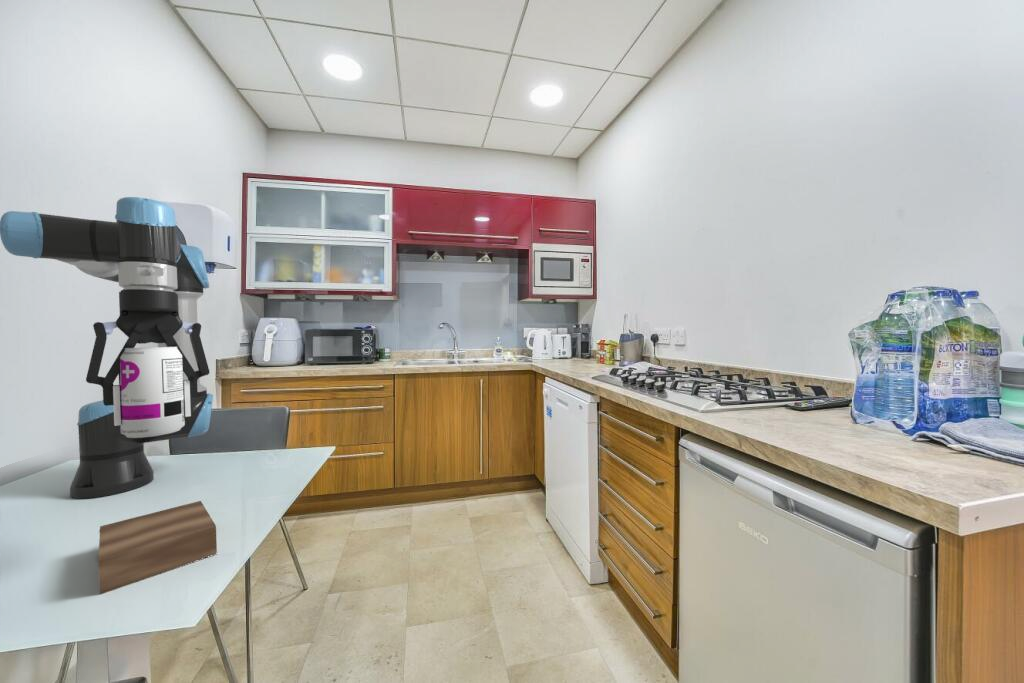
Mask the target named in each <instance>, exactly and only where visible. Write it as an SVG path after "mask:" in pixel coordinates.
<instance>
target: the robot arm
mask: <svg viewBox="0 0 1024 683" xmlns="http://www.w3.org/2000/svg"><path fill="white" fill-rule="evenodd" d="M115 211H116V213H115V216H114V219H115V221H105V220H99V219H98V220H97V219H89V218H88V219H87V218H79V217H70V216H62V215H54V214H46V213H38V212H36V211H31V212H29V211H28V212H27V211H15V210H9V211H6V212H4V213H3V214H2V215H1V217H0V240H1V244H2V246H3V247H4V249H5V250H6V251H7V252H8V253H9V254H11V255H13V256H16V257H27V258H33V259H51V260H56V261H59V262H62V263H66V264H69V265H72V266H75V267H76V268H77V269H78V270H79V271H81V272H82V273H84V274H86V275H89V276H91V277H95V278H98V279H102V280H106V281H109V282H115V283H118V286H119V287H120V288H122V289H121V290H120V291H119V292H118V300H119V304H118V305H119V316H118V318H117V319H116V321H115V320H114V321H107V322H99V321H97V322H95V323H93V325H92V326H93V330H94V333H95V334H94V335H95V340H94V344H93V348H92V353H91V357H90V361H89V366H88V369H87V373H86V378H85V382H86V383H88V384H94V385H99V386H101V387H102V388H101V389H102V400H98V401H93V402H90V403H87V404H85V405H83V406H81V407H80V409H79V410H78V422H77V423H76V426H77V427H78V445H79V446H78V448H79V450H78V451H79V465H78V467H77V470H76V472H75V474H74V477H73V480H72V482H71V484H70V487H69V490H70V492H69V493H70V494H69V495H70V498H72V497H73V499H93V498H102V497H105V496H110V495H111V496H112V495H116V494H121V493H125V492H129V491H132V490H135V489H138V488H140V487H143V486H146V485H148V484H150V483H152V481H154V478H155V476H154V475H155V474H154V470H153V468H152V465H151V463H150V461H149V460H148V458H147V456H146V454H145V449H144V448H145V446H144V444H145V443H152V442H153V443H154V442H161V441H162V442H163V441H166V440H175V439H185V438H186V439H188V438H190V437H197V436H202V435H204V434H206V433H207V432H208V431H209V429H210V423H211V422H210V421H211V415H212V408H213V400H214V394H212V393H208V390H207V387H206V386H205V385H203V384H202V383H201V382H200V381H201V380H200V379H201V378H202V377H204V376H208V375H210V368H209V364H208V360H207V357H206V354H205V350H204V346H203V343H202V339H201V331H202V330H201V329H202V325H201V324H200V323H199V322H198V299H200V298H201V297H202V296H203V295H204V289H205V290H206V289H209V288H210V283H209V278H208V272H207V268H206V267H207V266H206V262H205V257H204V253H203V250H202V249H200V247H197V246H193V245H187V244H182V243H180V242H179V240H178V237H177V228H176V226H177V224H178V223H177V221H176V214H175V209H174V207H172V206H171V205H169V204H168V203H165V202H163V201H160V200H155V199H152V198H145V197H140V196H139V197H138V196H127V197H126V196H125V197H121V198H119V199H118V200H117V202H116V210H115ZM116 328H118V329H119V330H120V331H121V332H122V333H123V334H124V335H125V336H126V337H127V340H126V342H125V343H124V345H123V346H122V348H121V350H120V352H119V353H118V355H117V357H116V358H115V360H114V362H113V363H112V365H111V366H110V368H109V370H108V371H107V373H106V375H105V377H104V376H99V373H100V369H101V365H102V362H103V361H102V360H103V356H104V352H105V347H106V344H107V339H108V336H110V335H112V334H113V332H114V329H116ZM149 343H153V344H157V347H177V349H178V350H179V352H180V353H181V354H182V366H183V386H184V415H185V425H184V426H183V427H182V428H181V429H180V430H179V431H177V432H173V433H169V434H164V435H159V436H152V437H143V438H128V437H126V435H124V434H121V426H120V425H121V413H120V386H119V384H114V382H115V381H116V379H117V377H119V372H120V357H121V355H122V354H123V352H124V351H125V348H136V346H137V344H141V345H142V344H143V345H144V344H149Z"/></svg>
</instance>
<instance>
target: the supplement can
mask: <svg viewBox="0 0 1024 683" xmlns="http://www.w3.org/2000/svg"><path fill="white" fill-rule="evenodd" d="M118 385H119V386H120V413H121V425H120V426H121V434H124V435H126V437H128V438H143V437H152V436H159V435H164V434H169V433H173V432H177V431H179V430H180V429H181V428H182V427H183V426H184V425H185V415H184V386H183V366H182V354H181V353H180V352H179V350H178V349H177V347H158V346H157V347H156V346H155V347H152V346H151V347H134V348H125V351H124V352H123V354H122V355H121V357H120V372H119V374H118Z"/></svg>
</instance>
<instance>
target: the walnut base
mask: <svg viewBox="0 0 1024 683" xmlns="http://www.w3.org/2000/svg"><path fill="white" fill-rule="evenodd" d="M217 549H218V548H217V525H216V523H215V522H214V520H213V518H212V517H211V515H210V513H209V512H208V510H207V508H206V507H205V506H204V504H203V502H202V500H198V501H194V502H190V503H186V504H182V505H179V506H175V507H171V508H167V509H162V510H158V511H155V512H152V513H148V514H144V515H140V516H135V517H132V518H127V519H123V520H121V521H115V522H112V523H107V524H103V525H100V526H99V543H98V581H99V582H98V584H99V595H102V594H105V593H107V592H112V591H114V590H117V589H120V588H122V587H125V586H128V585H131V584H134V583H137V582H140V581H143V580H146V579H149V578H151V577H155V576H158V575H161V574H163V573H166V572H169V571H172V570H174V568H175V569H178V568H180V566H181V567H184V566H186V565H185V564H187V565H189V564H188V563H190V564H192V563H191V562H193V563H195V562H194V561H196V560H199V559H202V558H205V557H208V556H210V557H212V556H211V555H213V556H215V555H214V554H216V553H217V554H218V550H217ZM217 554H216V555H217ZM208 558H209V557H208ZM205 559H206V558H205ZM202 560H203V559H202ZM199 561H200V560H199ZM196 562H197V561H196ZM183 565H184V566H183ZM177 567H178V568H177Z"/></svg>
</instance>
